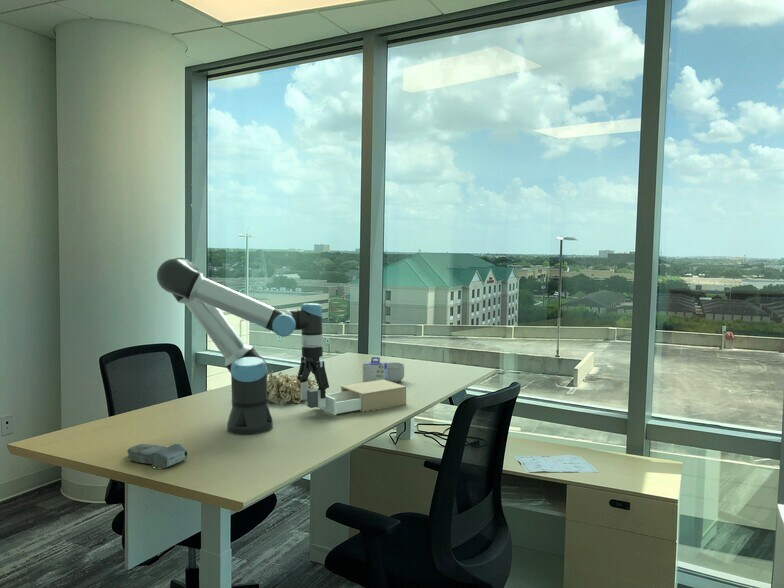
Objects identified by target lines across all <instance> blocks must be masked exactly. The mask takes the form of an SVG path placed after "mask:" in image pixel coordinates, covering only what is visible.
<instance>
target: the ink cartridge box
mask: <svg viewBox="0 0 784 588" xmlns="http://www.w3.org/2000/svg"><path fill="white" fill-rule="evenodd" d="M380 359H381V358H380V357H378V356H377V357H376V356H375V357H374V356H371V359H370V362H366V361H365V362H364V363H363V364H362V383H363V382H370V381H377V380H387V363H388V362H380Z"/></svg>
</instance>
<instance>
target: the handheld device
mask: <svg viewBox="0 0 784 588" xmlns="http://www.w3.org/2000/svg"><path fill="white" fill-rule="evenodd" d="M127 455H128V456H127V457H128V459H130V460H129V461H131V460H132V461H131V462H133V461H135V462H134V463H139V462H140V463H142V464H151V467H152V468H153V467H155V468H162V469H166V468H168V467H171V466H173V465H175V464H178V463H181V462H183V461H185V460H187V458H188V450H187V449H186V447H184V446H183V445H181V444H178V443H176V444H172V445H170V446H164V445H158V444H151V443H150V444H149V443H141V444H140V443H139V444H136V445H134V446H131V447H129V448H128V449H127Z"/></svg>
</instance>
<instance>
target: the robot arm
mask: <svg viewBox="0 0 784 588" xmlns="http://www.w3.org/2000/svg"><path fill="white" fill-rule="evenodd" d="M156 281H157V283H158V285H159V286H160V288H162V289H163V290H164V291H165V292H168V293H170V294H171V295H172V296H173V297H174V298H175V300H176V301H177V302H178V303H179V304H183V305H185V306H186V307H187V308H188V310H189V312H191V314H192V316H193V317H194V318H195V320H196V321H197V323H198V324H199V325H200V326H201V327H202V329H203V330H204V332H205V333H206V334H207V336H208V337H209V338H210V339H211V341H212V343H214V345H215V346H216V348H217V349H218V350H219V352H220V353H221V355H222V356H223V357H224V359H225V363H224V366H225V367H226V368H227V370H228V372H229V373H230V378H231V379H230V381H231V409H230V413H229V415H228V420H227V423H226V429H227V432H228V433H230V434H232V435H233V434H234V435H239V436H240V435H242V436H243V435H245V436H246V435H248V436H249V435H257V434H258V435H259V434H262V433H266V432H269V431H270V430H272V429H273V427H274V423H273V422H274V421H273V417H272V414H271V412H270V409H269V406H268V403H267V379H268V377H269V376H268V375H269V367H268V364H267V361H266V360H265V358H263V357H262V356H261V355H260V354H259V353H258V352H257V351H256V349H255V348H254V346H253V345H249V344H246V342H244V340H243V339H242V337H241V336H240V334H239V333H238V332H237V330H236V329H235V327H234V326H233V325H232V324H231V322H230V321H229V319H228V318H227V316H226V315H225V314H224V313H223V311H224V312H226V313H228V314H231V315H234V316H235V317H238V318H240V319H243V320H245V321H247V322H249V323H253V324H255V325H257V326H259V327H262V328H265V329H266V330H268V331H271V332H273V333H274V334H275V335H277V336H279V337H283V338H285V337H286V338H287V337H289V336H291V335H292V334H293V333H294V331H301V346H302V347H301V357H300V364H299V369H298V372H299V373H298V372H297V374H298V375H297V376H298V377H297V379H298V380H300V382H301V400H306V399H307V390H308V382H306V381H308V380H309V379H308V378H310V374H311V373H312V375H313V377H314V378H315V379H316V380H315V381H316V382H317V384H316V385H318V386H317V387H318V388H317V389H318V408H317V409H319V408H321V407H326V394H327V393H326V390H327V389H329V388H330V384H329V380H328V376H327V371H326V367H325V361H324V360H322V361H321V360H320V358H321V357H323V355H324V352H323V351H324V350H323V346H322V345H323V338H324V336H323V307H322V305H321V304H320V303H316V302H310V303H309V302H307V303H302V304H301V305H300V308H299V309H279V308H275V307H273V306H271V305H268V304H266V303H264V302H261V301H259V300H257V299H255V298H252V297H250V296H248V295H246V294H244V293H241V292H239V291H236V290H234V289H232V288H229V287H227V286H225V285H223V284H220V283H218V282H216V281H213V280H212V279H211V280H210V279H209V278H206V277H205V276H204V274H203V272H201V271H199V267H198V266H197V265H196V264H195V263H194V262H193V260H190V259H188V258H184V257H177V258H176V257H175V258H170V259H167V260H165V261H164V262H163V263H161V265H160V266H159V267H158V269H157V272H156Z"/></svg>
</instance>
